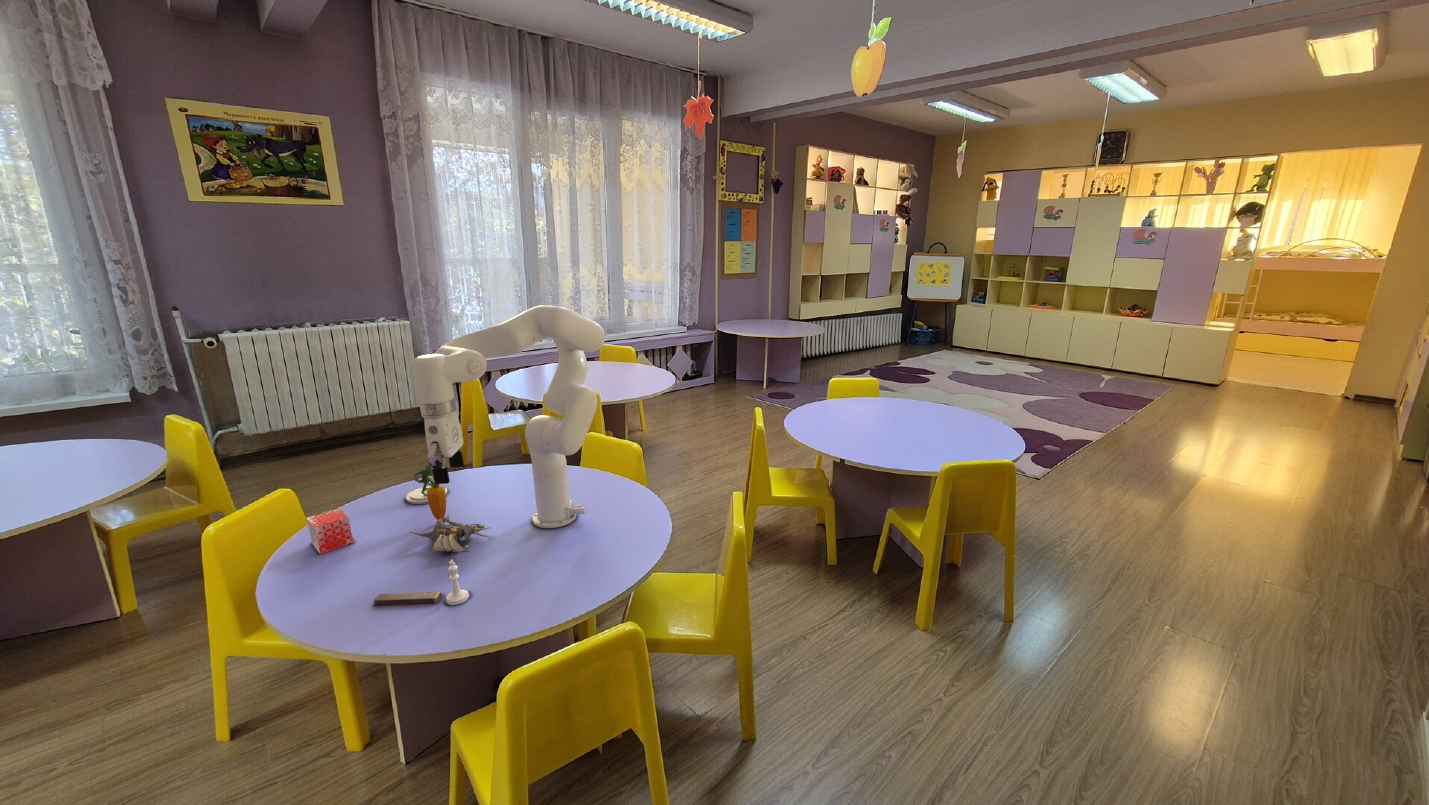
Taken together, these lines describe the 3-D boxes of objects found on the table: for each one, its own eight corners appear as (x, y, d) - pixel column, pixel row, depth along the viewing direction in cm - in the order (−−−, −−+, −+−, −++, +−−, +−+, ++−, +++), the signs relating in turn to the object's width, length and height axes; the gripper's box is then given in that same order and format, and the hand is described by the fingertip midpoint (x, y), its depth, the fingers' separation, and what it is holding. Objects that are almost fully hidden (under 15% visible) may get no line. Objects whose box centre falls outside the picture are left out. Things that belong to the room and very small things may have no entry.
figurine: (487, 507, 164) (495, 534, 149) (488, 526, 165) (496, 554, 151) (408, 519, 155) (409, 548, 140) (410, 539, 156) (411, 570, 142)
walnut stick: (442, 595, 132) (441, 591, 132) (437, 602, 130) (436, 597, 129) (380, 598, 131) (379, 593, 131) (374, 605, 129) (373, 600, 129)
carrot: (453, 518, 169) (446, 472, 165) (444, 527, 164) (436, 479, 160) (437, 518, 169) (430, 471, 165) (428, 526, 164) (420, 478, 160)
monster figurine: (455, 489, 189) (451, 460, 186) (430, 505, 177) (425, 475, 174) (424, 486, 191) (419, 458, 188) (397, 502, 180) (392, 472, 177)
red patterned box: (353, 542, 156) (348, 516, 154) (320, 554, 150) (314, 527, 148) (344, 533, 161) (339, 507, 159) (312, 543, 156) (306, 517, 153)
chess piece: (454, 607, 128) (448, 568, 125) (441, 600, 130) (434, 562, 128) (473, 596, 132) (468, 558, 129) (460, 589, 134) (454, 552, 132)
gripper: (440, 418, 125) (453, 489, 130) (467, 396, 141) (477, 460, 146) (405, 420, 124) (419, 491, 129) (436, 397, 141) (447, 461, 146)
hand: (450, 474), depth 138 cm, fingers open, 9 cm apart
